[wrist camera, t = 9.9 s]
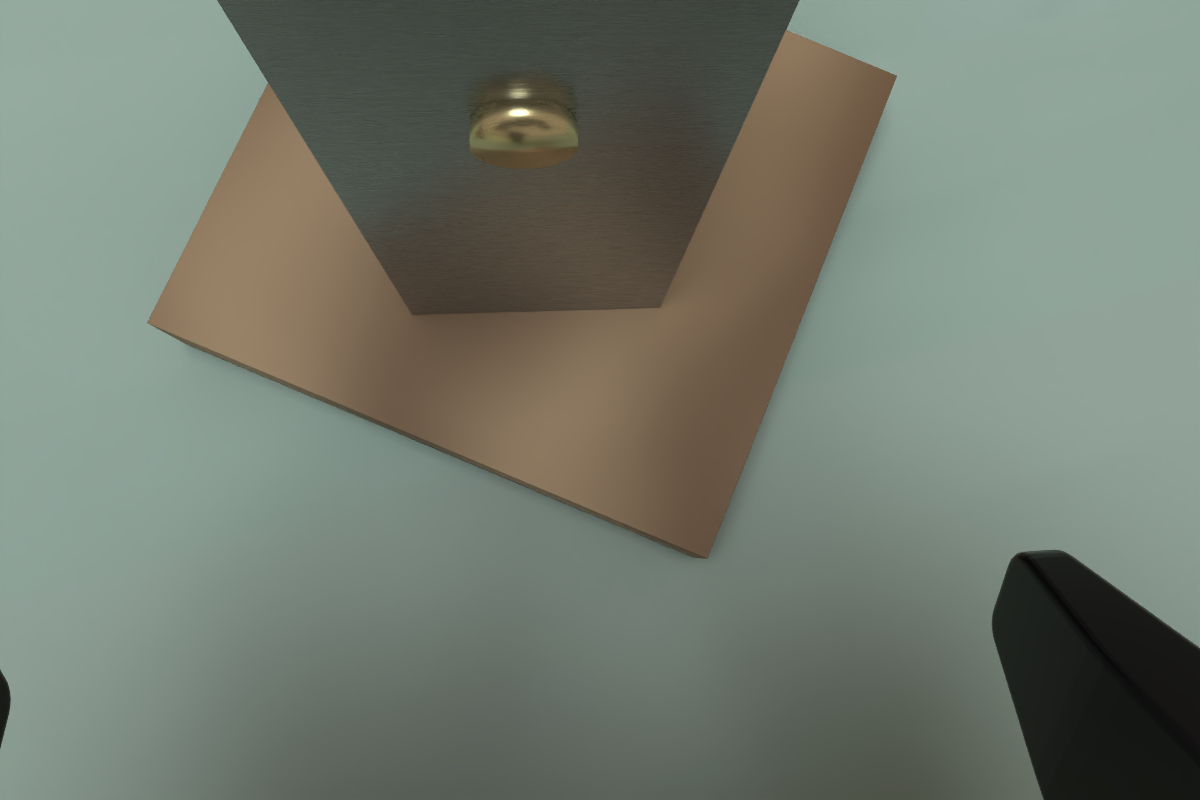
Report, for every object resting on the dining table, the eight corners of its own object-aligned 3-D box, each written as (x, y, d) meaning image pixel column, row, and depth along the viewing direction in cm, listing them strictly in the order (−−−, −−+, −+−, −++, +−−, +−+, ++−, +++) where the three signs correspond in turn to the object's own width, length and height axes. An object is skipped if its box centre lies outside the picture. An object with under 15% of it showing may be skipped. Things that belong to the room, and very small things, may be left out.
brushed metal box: (648, 75, 21) (789, -618, 8) (660, 322, 20) (835, -39, 8) (408, 79, 20) (187, -631, 8) (412, 329, 20) (174, -32, 7)
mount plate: (867, 116, 23) (896, 75, 21) (692, 557, 21) (707, 558, 19) (394, -80, 23) (379, -138, 21) (184, 343, 21) (146, 322, 19)
